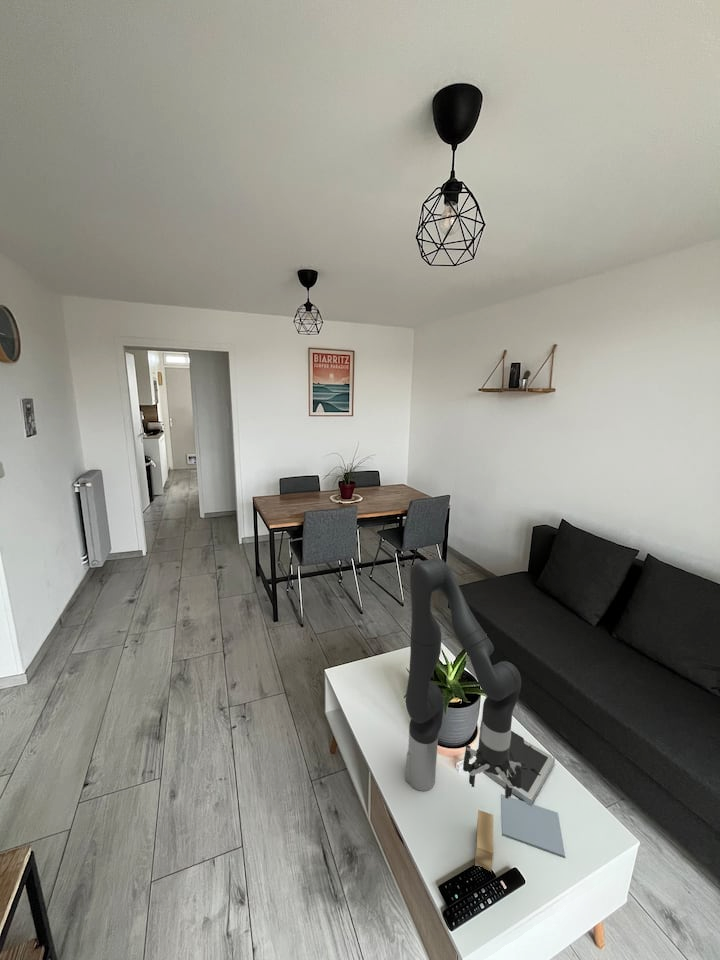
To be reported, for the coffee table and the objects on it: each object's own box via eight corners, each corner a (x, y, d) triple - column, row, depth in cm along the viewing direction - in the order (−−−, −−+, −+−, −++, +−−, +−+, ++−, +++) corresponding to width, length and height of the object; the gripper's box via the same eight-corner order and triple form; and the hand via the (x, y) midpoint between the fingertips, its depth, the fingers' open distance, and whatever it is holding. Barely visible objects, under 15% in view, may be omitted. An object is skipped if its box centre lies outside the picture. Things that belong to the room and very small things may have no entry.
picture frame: (509, 736, 139) (483, 772, 125) (510, 729, 139) (483, 765, 125) (554, 763, 128) (531, 805, 114) (555, 755, 128) (531, 797, 113)
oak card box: (475, 868, 98) (477, 847, 97) (476, 829, 108) (478, 809, 106) (491, 875, 97) (493, 853, 96) (491, 835, 106) (493, 814, 105)
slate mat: (502, 835, 106) (502, 833, 106) (501, 795, 117) (501, 794, 117) (564, 857, 101) (565, 856, 101) (557, 814, 112) (557, 812, 112)
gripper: (465, 740, 95) (460, 793, 98) (526, 758, 90) (519, 813, 93) (467, 718, 102) (462, 768, 105) (523, 733, 97) (517, 786, 100)
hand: (489, 789), depth 99 cm, fingers open, 8 cm apart
